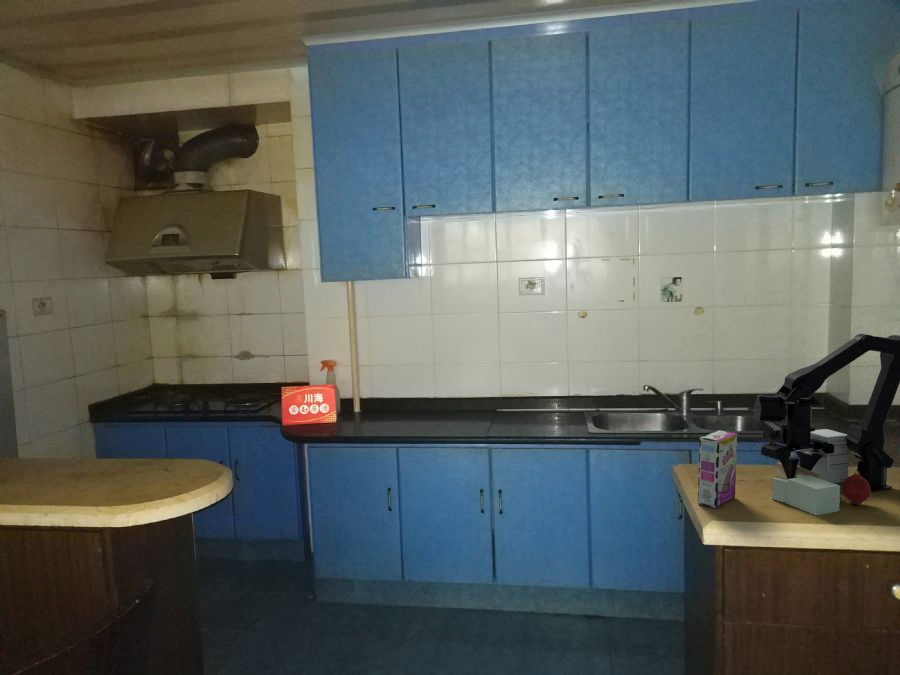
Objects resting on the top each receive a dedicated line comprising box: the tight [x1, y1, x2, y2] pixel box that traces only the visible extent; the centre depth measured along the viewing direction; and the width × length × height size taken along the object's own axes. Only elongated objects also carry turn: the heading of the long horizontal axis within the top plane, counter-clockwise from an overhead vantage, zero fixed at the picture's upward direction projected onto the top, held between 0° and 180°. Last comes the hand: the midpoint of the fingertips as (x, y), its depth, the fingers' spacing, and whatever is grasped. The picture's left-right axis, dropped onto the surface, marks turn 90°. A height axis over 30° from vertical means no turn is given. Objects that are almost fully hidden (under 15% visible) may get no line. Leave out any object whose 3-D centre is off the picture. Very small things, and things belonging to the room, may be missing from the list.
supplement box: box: [811, 428, 850, 484], centre depth 171 cm, size 7×7×13 cm
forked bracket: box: [771, 474, 841, 516], centre depth 152 cm, size 9×12×6 cm
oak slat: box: [775, 461, 820, 480], centre depth 167 cm, size 4×12×4 cm, turn 8°
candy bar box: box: [697, 429, 738, 509], centre depth 156 cm, size 11×5×16 cm, turn 134°
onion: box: [841, 470, 872, 505], centre depth 152 cm, size 6×6×8 cm
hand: (796, 481), depth 167 cm, fingers closed on oak slat, 4 cm apart
